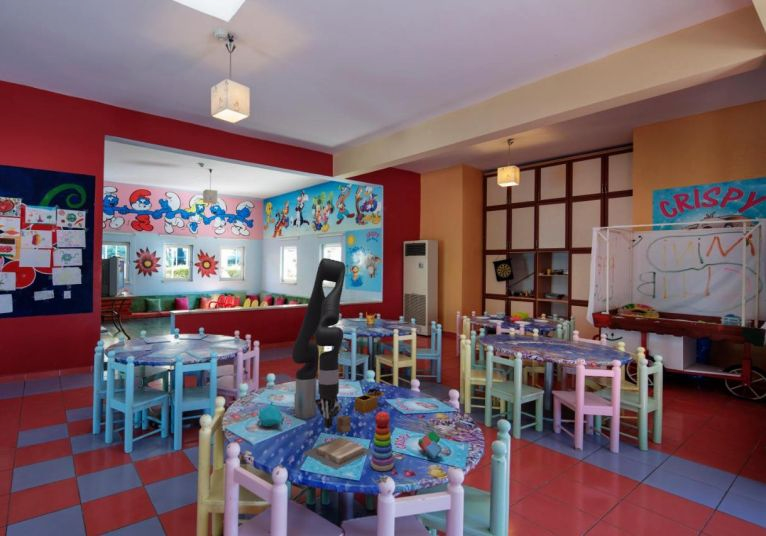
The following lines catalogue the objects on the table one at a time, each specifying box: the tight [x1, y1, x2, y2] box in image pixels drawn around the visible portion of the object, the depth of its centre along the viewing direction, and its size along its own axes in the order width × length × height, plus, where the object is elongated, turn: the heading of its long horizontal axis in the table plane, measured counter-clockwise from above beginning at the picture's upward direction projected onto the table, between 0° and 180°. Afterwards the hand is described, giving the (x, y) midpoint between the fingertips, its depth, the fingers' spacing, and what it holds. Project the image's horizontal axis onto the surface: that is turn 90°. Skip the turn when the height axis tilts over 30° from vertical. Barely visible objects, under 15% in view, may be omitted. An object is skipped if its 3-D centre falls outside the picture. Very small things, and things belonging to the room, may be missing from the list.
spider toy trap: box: [354, 387, 386, 415], centre depth 197 cm, size 6×15×9 cm, turn 139°
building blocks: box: [417, 429, 442, 460], centre depth 150 cm, size 8×8×12 cm
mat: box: [302, 436, 372, 470], centre depth 149 cm, size 18×18×1 cm
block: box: [336, 414, 352, 434], centre depth 169 cm, size 4×4×6 cm
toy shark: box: [257, 401, 285, 427], centre depth 173 cm, size 10×18×11 cm, turn 49°
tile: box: [317, 437, 365, 464], centre depth 148 cm, size 2×12×12 cm
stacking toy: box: [370, 411, 395, 472], centre depth 140 cm, size 8×8×19 cm
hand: (328, 427), depth 152 cm, fingers closed
